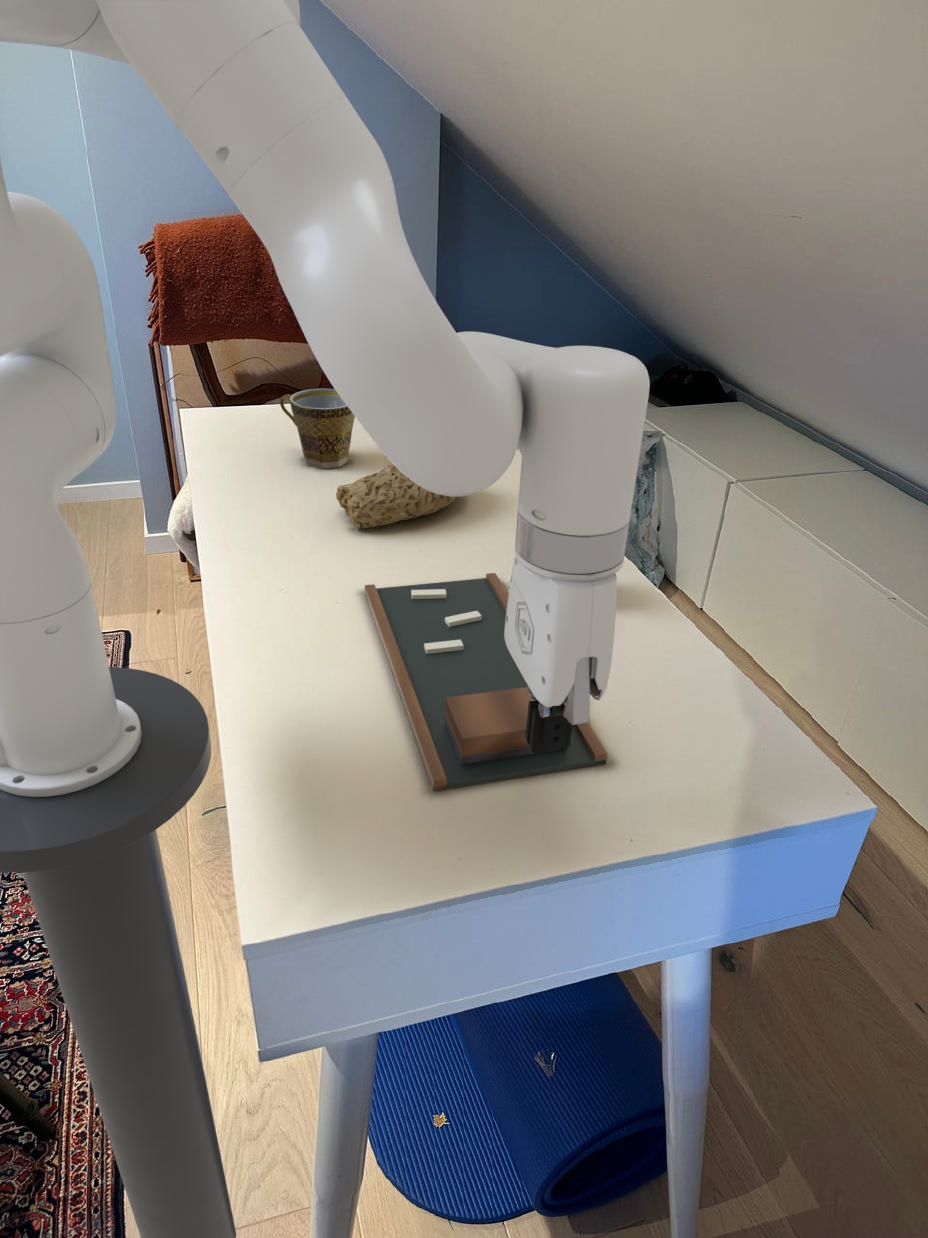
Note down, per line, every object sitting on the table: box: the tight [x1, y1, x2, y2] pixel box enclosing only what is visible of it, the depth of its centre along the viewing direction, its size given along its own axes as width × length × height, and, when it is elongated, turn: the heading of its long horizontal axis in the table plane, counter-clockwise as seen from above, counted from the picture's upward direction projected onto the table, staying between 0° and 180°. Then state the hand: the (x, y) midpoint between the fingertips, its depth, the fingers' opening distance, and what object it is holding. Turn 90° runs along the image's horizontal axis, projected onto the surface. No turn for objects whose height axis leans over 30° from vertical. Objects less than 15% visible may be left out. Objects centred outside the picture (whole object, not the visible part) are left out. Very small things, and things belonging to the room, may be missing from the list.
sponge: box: [335, 463, 458, 529], centre depth 120 cm, size 13×8×20 cm
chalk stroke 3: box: [445, 611, 482, 627], centre depth 96 cm, size 4×1×1 cm, turn 115°
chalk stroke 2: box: [424, 640, 464, 654], centre depth 91 cm, size 4×1×1 cm, turn 105°
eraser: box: [445, 687, 567, 765], centre depth 78 cm, size 10×6×3 cm, turn 105°
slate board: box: [364, 572, 608, 792], centre depth 89 cm, size 16×34×1 cm, turn 15°
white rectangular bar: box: [411, 589, 447, 599], centre depth 100 cm, size 4×1×1 cm, turn 97°
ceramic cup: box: [279, 388, 356, 470], centre depth 133 cm, size 13×10×10 cm
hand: (547, 744), depth 68 cm, fingers closed
